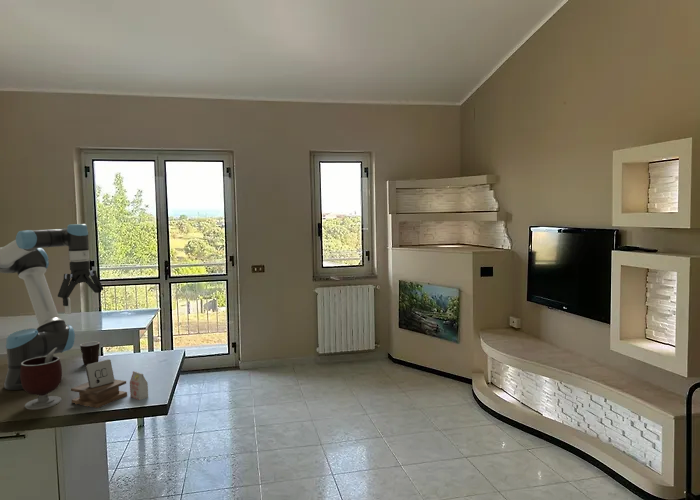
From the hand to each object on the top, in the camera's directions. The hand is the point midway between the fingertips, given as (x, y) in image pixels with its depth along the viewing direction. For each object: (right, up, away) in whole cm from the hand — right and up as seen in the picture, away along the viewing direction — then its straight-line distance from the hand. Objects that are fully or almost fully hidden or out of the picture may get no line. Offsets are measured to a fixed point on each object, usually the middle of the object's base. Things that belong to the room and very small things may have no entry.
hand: (82, 310), depth 216 cm
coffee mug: (-14, -31, +34) cm, 48 cm away
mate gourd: (-6, -34, -16) cm, 39 cm away
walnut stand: (+14, -34, -14) cm, 39 cm away
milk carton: (+29, -33, -12) cm, 46 cm away
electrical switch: (+14, -28, -14) cm, 34 cm away
